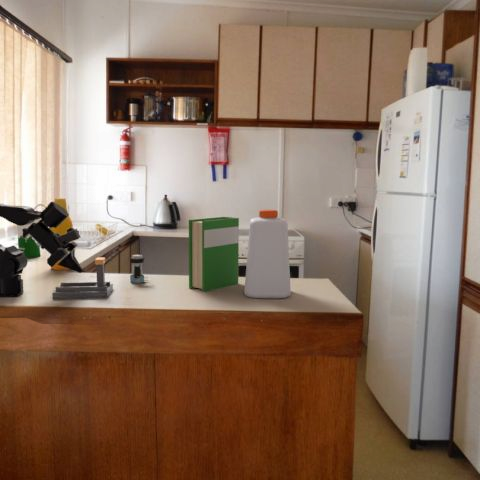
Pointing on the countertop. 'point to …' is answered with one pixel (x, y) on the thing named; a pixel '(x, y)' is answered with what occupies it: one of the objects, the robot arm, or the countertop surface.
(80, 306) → the countertop surface
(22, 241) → the milk carton
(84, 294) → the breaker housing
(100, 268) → the lever
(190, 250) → the hardback book
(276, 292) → the plastic bottle
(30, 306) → the countertop surface
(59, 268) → the beer bottle
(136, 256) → the push button
